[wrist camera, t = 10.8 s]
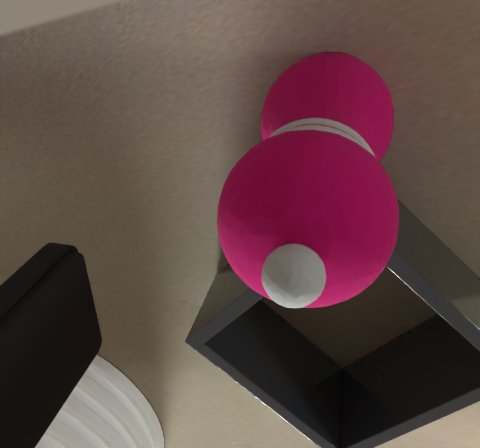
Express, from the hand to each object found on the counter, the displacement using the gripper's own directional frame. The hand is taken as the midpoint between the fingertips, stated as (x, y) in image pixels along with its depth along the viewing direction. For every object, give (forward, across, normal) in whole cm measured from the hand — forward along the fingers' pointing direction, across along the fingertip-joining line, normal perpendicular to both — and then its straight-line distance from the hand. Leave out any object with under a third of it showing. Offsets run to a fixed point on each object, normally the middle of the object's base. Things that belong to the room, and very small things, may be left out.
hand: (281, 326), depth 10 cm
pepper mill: (+22, 0, +1) cm, 22 cm away
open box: (+22, -3, +15) cm, 26 cm away
